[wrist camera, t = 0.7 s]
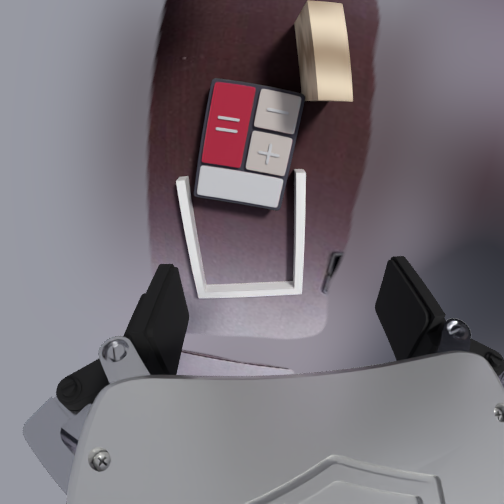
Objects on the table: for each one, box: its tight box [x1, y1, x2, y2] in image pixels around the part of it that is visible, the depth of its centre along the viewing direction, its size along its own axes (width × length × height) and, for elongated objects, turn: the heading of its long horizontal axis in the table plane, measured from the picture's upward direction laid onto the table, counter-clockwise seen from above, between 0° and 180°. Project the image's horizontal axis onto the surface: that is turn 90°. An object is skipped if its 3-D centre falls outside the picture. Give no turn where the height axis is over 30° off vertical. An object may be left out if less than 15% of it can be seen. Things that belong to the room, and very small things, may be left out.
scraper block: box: [294, 1, 353, 101], centre depth 23 cm, size 11×4×9 cm, turn 5°
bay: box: [176, 169, 306, 298], centre depth 39 cm, size 19×16×2 cm
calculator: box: [194, 78, 305, 210], centre depth 31 cm, size 11×4×15 cm
